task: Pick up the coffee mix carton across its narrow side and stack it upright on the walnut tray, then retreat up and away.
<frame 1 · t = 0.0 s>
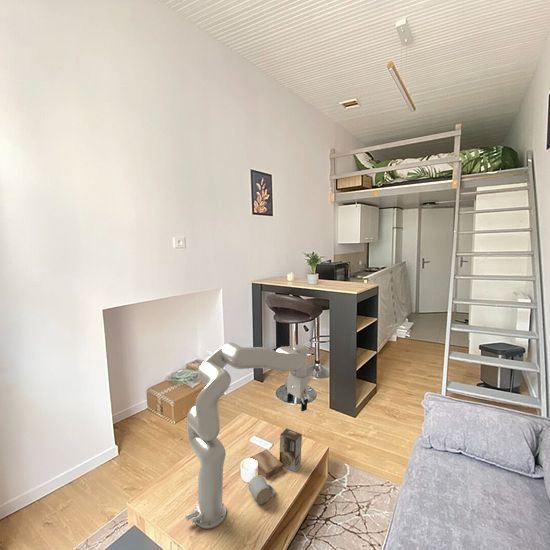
hand: (296, 405, 147), 31 cm above the table, fingers open, 9 cm apart
walnut tray: (266, 466, 150), on the table
ceramic mug: (262, 496, 132), on the table
coffee box: (289, 465, 152), on the table
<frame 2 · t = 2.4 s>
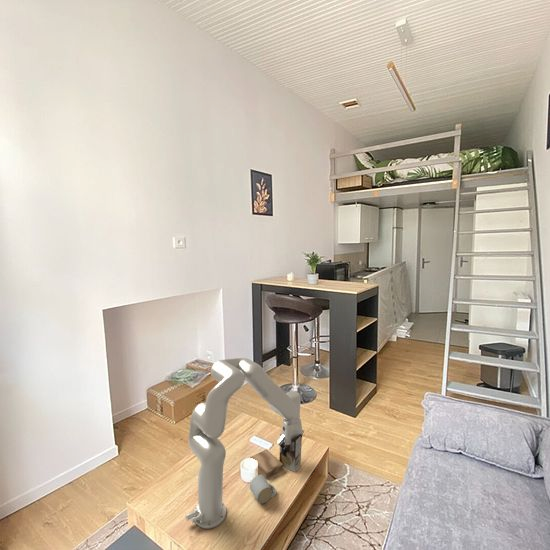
hand: (290, 451, 151), 7 cm above the table, fingers closed on coffee box, 7 cm apart
coffee box: (289, 465, 152), on the table, touching gripper
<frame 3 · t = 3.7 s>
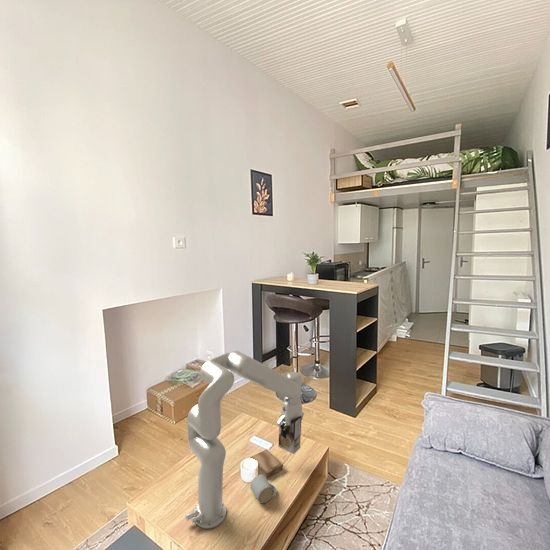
hand: (290, 433, 149), 17 cm above the table, fingers closed on coffee box, 7 cm apart
coffee box: (289, 447, 150), point 9 cm above the table, touching gripper
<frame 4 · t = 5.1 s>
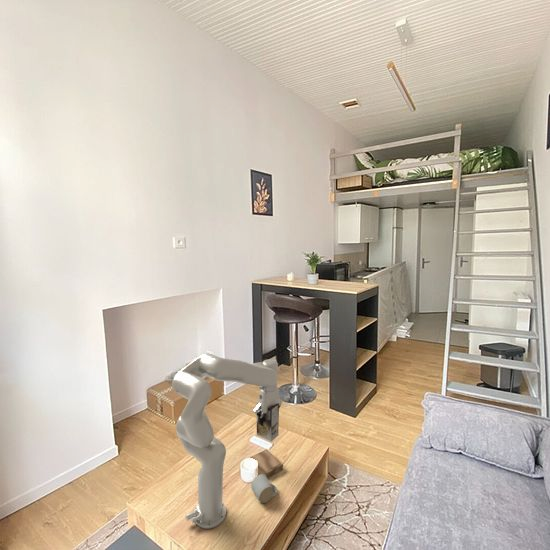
hand: (267, 421, 147), 23 cm above the table, fingers closed on coffee box, 7 cm apart
coffee box: (267, 435, 148), point 16 cm above the table, touching gripper
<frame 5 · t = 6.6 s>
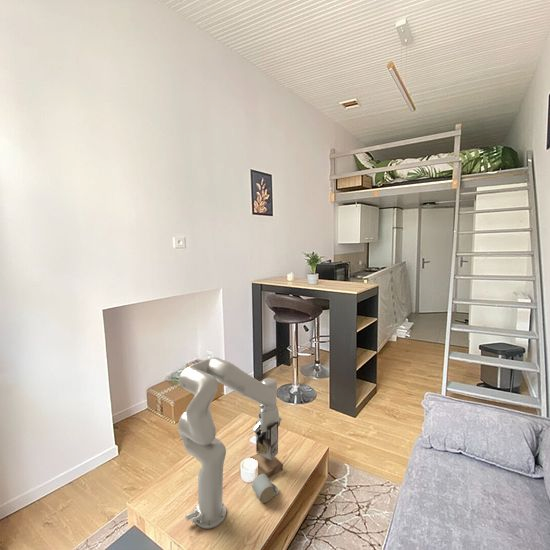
hand: (267, 439, 148), 14 cm above the table, fingers closed on coffee box, 7 cm apart
coffee box: (267, 453, 150), point 7 cm above the table, touching gripper
when the fingers open (11 cm above the table, at t = 8.0 s): coffee box stays where it is, resting on walnut tray.
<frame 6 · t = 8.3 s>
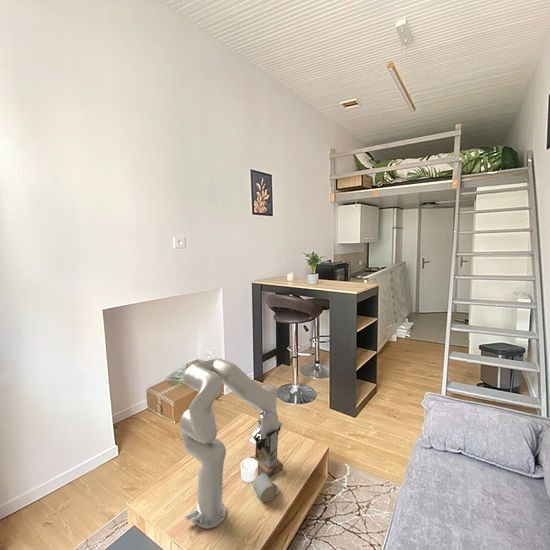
hand: (267, 445, 149), 11 cm above the table, fingers open, 9 cm apart
coffee box: (266, 460, 150), point 3 cm above the table, touching walnut tray
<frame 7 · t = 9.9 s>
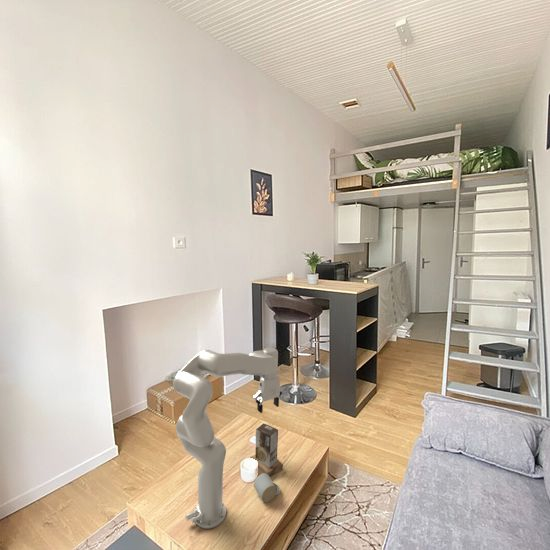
hand: (268, 408, 148), 29 cm above the table, fingers open, 9 cm apart
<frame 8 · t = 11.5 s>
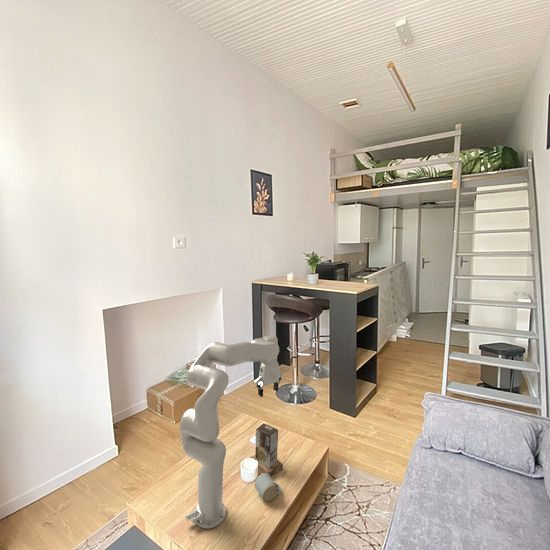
hand: (268, 393, 156), 32 cm above the table, fingers open, 9 cm apart
at the end: coffee box inside the target area on the walnut tray (0.2 cm from its centre), point 2.9 cm above the walnut tray's base; coffee box tilted 0°; the gripper is holding nothing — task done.
